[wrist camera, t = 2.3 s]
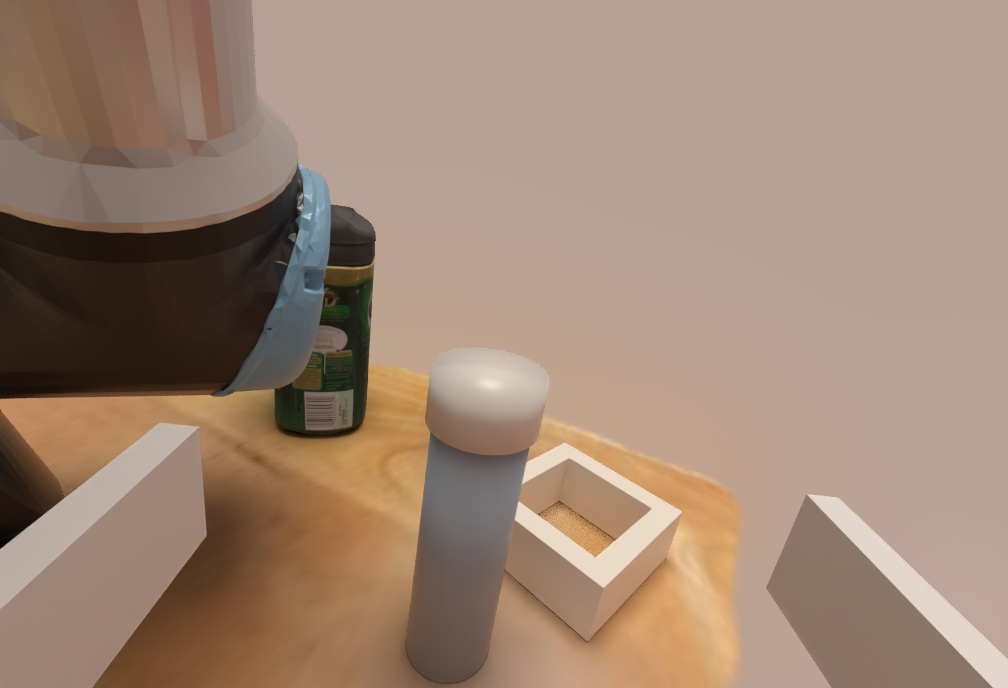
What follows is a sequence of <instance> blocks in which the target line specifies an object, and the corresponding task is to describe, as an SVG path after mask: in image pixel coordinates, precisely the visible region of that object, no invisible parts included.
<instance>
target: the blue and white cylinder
mask: <svg viewBox="0 0 1008 688" xmlns="http://www.w3.org/2000/svg"><path fill="white" fill-rule="evenodd" d="M549 384H550V378H549V375H548V374H547V373H546V371H545V370H544V369H543V368H542V367H541V366H539V365H538V364H537V363H535V362H533V361H531V360H529V359H527V358H525V357H522V356H520V355H517V354H514V353H510V352H507V351H502V350H498V349H491V348H482V347H464V348H456V349H451V350H447V351H444V352H442V353H440V354H438V355H437V356H436V357H435V358H434V359H433V360H432V363H431V371H430V380H429V389H428V398H427V407H426V416H425V421H426V425H427V427H428V429H429V430H430V432H431V433H430V442H429V450H428V459H427V468H426V476H425V485H424V493H423V502H422V510H421V519H420V527H419V536H418V544H417V553H416V561H415V570H414V578H413V587H412V595H411V604H410V613H409V621H408V630H407V638H406V650H407V655H408V658H409V660H410V662H411V664H412V665H413V667H414V668H415V669H416V670H417V671H418V672H419V673H420V674H421V675H423V676H424V677H426V678H428V679H430V680H432V681H435V682H439V683H457V682H460V681H463V680H466V679H468V678H470V677H471V676H473V675H474V674H475V673H477V671H478V670H479V669H480V668H481V667H482V666H483V664H484V662H485V660H486V658H487V655H488V650H489V645H490V640H491V635H492V630H493V625H494V620H495V615H496V610H497V605H498V600H499V595H500V590H501V585H502V580H503V575H504V571H505V566H506V561H507V556H508V551H509V546H510V541H511V536H512V531H513V526H514V521H515V516H516V511H517V506H518V501H519V496H520V491H521V486H522V481H523V476H524V471H525V466H526V461H527V456H528V451H529V447H531V446H532V445H533V444H534V443H535V442H536V441H537V439H538V437H539V432H540V427H541V422H542V418H543V413H544V408H545V403H546V398H547V394H548V389H549Z"/></svg>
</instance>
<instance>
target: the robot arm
mask: <svg viewBox="0 0 1008 688" xmlns="http://www.w3.org/2000/svg"><path fill="white" fill-rule="evenodd" d="M253 36H254V35H253V16H252V0H0V399H9V398H62V397H120V396H178V395H211V396H214V397H223V396H226V395H229V394H232V393H234V392H240V391H253V390H267V389H276V388H281V387H284V386H286V385H288V384H290V383H291V382H293V381H294V380H296V379H297V378H298V377H299V376H300V375H301V373H302V372H303V371H304V369H305V368H306V366H307V364H308V361H309V359H310V357H311V354H312V351H313V348H314V344H315V340H316V336H317V332H318V327H319V322H320V317H321V312H322V305H323V298H324V284H323V280H324V278H325V275H326V267H327V263H328V258H329V247H330V229H331V206H330V196H329V189H328V185H327V182H326V180H325V179H324V177H323V176H321V174H319V173H317V172H314V171H311V170H309V169H308V168H306V167H304V166H303V165H298V147H297V143H296V140H295V137H294V135H293V132H292V131H291V129H290V127H289V125H288V124H287V123H286V122H285V121H284V119H283V118H282V117H281V116H280V115H279V114H278V113H277V112H276V111H275V110H274V109H273V108H272V107H271V106H270V105H268V104H267V103H266V102H265V101H264V100H263V99H262V98H261V97H260V96H259V95H257V93H256V75H255V54H254V37H253ZM206 536H207V531H206V517H205V502H204V488H203V473H202V459H201V444H200V430H199V427H195V426H186V425H177V424H168V423H159V424H157V425H156V426H155V427H154V428H152V429H151V430H150V431H149V432H147V433H146V434H145V435H144V436H142V437H141V438H140V439H139V440H137V441H136V442H135V443H134V444H132V445H131V446H130V447H128V448H127V449H126V450H125V451H123V452H122V453H121V454H120V455H118V456H117V457H116V458H115V459H113V460H112V461H111V462H110V463H108V464H107V465H106V466H105V467H103V468H102V469H101V470H99V471H98V472H97V473H96V474H94V475H93V476H92V477H91V478H89V479H88V480H87V481H86V482H84V483H83V484H82V485H81V486H79V487H78V488H77V489H76V490H74V491H73V492H72V493H70V494H69V495H68V496H67V497H65V498H64V495H63V491H62V489H61V486H60V484H59V482H58V480H57V479H56V477H55V476H54V475H53V473H52V472H51V471H50V470H49V468H48V467H47V466H46V465H45V464H44V462H43V461H42V460H41V459H40V458H39V456H38V455H37V454H36V453H35V452H34V450H33V449H32V448H31V447H30V446H29V444H28V443H27V442H26V441H25V439H24V438H23V437H22V436H21V435H20V433H19V432H18V431H17V430H16V429H15V427H14V426H13V425H12V424H11V423H10V421H9V420H8V419H7V418H6V417H5V415H4V414H3V413H2V411H1V409H0V688H92V687H93V686H94V685H95V683H96V682H97V681H98V679H99V678H100V677H101V675H102V674H103V673H104V671H105V670H106V669H107V667H108V666H109V665H110V663H111V662H112V661H113V659H114V658H115V657H116V655H117V654H118V653H119V651H120V650H121V649H122V647H123V646H124V645H125V643H126V642H127V641H128V639H129V638H130V637H131V635H132V634H133V633H134V631H135V630H136V629H137V627H138V626H139V625H140V623H141V622H142V621H143V619H144V618H145V617H146V615H147V614H148V613H149V612H150V610H151V609H152V608H153V606H154V605H155V604H156V602H157V601H158V600H159V598H160V597H161V596H162V594H163V593H164V592H165V590H166V589H167V588H168V586H169V585H170V584H171V582H172V581H173V580H174V578H175V577H176V576H177V574H178V573H179V572H180V570H181V569H182V568H183V566H184V565H185V564H186V562H187V561H188V560H189V558H190V557H191V556H192V554H193V553H194V552H195V550H196V549H197V548H198V546H199V545H200V544H201V542H202V541H203V540H204V538H205V537H206ZM766 588H767V590H768V591H769V593H770V594H771V596H772V597H773V599H774V600H775V602H776V603H777V605H778V606H779V608H780V610H781V611H782V613H783V614H784V616H785V617H786V619H787V620H788V622H789V623H790V625H791V626H792V628H793V629H794V630H795V632H796V634H797V635H798V637H799V638H800V640H801V641H802V643H803V645H804V646H805V648H806V649H807V651H808V652H809V654H810V655H811V657H812V658H813V660H814V661H815V663H816V664H817V666H818V667H819V669H820V670H821V672H822V674H823V675H824V676H825V678H826V680H827V681H828V683H829V684H830V686H831V687H832V688H1008V659H1007V658H1006V657H1005V656H1004V655H1003V654H1002V653H1001V652H1000V651H999V650H997V648H995V647H994V646H993V645H992V644H991V643H990V642H989V641H988V640H987V639H986V638H985V637H984V636H983V635H982V634H981V633H980V632H979V631H978V630H977V629H975V628H974V627H973V626H972V625H971V624H970V623H969V622H968V621H967V620H966V619H965V618H964V617H963V616H962V615H961V614H960V613H959V612H958V611H957V610H955V608H953V607H952V606H951V605H950V604H949V603H948V602H947V601H946V600H945V599H944V598H943V597H942V596H941V595H940V594H939V593H938V592H937V591H936V590H935V589H934V588H932V586H930V585H929V584H928V583H927V582H926V581H925V580H924V579H923V578H922V577H921V576H920V575H919V574H918V573H917V572H915V570H914V569H913V568H912V567H910V565H908V564H907V563H906V562H905V561H904V560H903V559H902V558H901V557H900V556H899V555H898V554H897V553H896V552H895V551H893V549H892V548H891V547H890V546H888V544H886V543H885V542H884V541H883V540H882V539H881V538H880V537H879V536H878V535H877V534H876V533H875V532H874V531H873V530H872V529H871V528H870V527H869V526H867V525H866V524H865V523H864V522H863V521H862V520H861V519H860V518H859V517H858V516H857V515H856V514H855V513H854V512H853V511H852V510H851V509H850V508H849V507H848V506H847V505H846V504H845V503H843V502H842V501H841V500H840V499H839V498H837V497H826V496H819V495H809V494H807V495H806V497H805V499H804V501H803V504H802V506H801V508H800V511H799V513H798V515H797V518H796V520H795V522H794V525H793V527H792V529H791V532H790V534H789V536H788V539H787V541H786V543H785V546H784V548H783V551H782V553H781V555H780V557H779V560H778V562H777V564H776V567H775V569H774V571H773V574H772V576H771V578H770V581H769V583H768V585H767V587H766Z"/></svg>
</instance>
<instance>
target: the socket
mask: <svg viewBox="0 0 1008 688" xmlns="http://www.w3.org/2000/svg"><path fill="white" fill-rule="evenodd" d="M558 501H560V502H562V503H563V504H564V505H566V506H567V507H569V508H570V509H572V510H573V511H575V512H576V513H578V514H579V515H580V516H582V517H583V518H585V519H586V520H588V521H589V522H591V523H592V524H594V525H595V526H596V527H598V528H599V529H601V530H602V531H604V532H605V533H607V534H608V535H610V536H611V537H612V538H614V539H615V541H614V542H613V543H612V544H611V545H610V546H608V547H607V548H606V549H605V550H604V551H603V552H601V553H600V554H599V555H598V556H597V557H596V558H595V557H594V556H593V555H591V554H590V553H589V552H587V551H586V550H585V549H583V548H582V547H580V546H579V545H578V544H576V543H575V542H574V541H572V540H571V539H570V538H568V537H567V536H565V535H564V534H563V533H561V532H560V531H559V530H557V529H556V528H555V527H553V526H552V525H550V524H549V523H548V522H546V521H545V520H544V519H542V518H541V517H540V516H538V514H539V513H541V512H542V511H544V510H545V509H547V508H548V507H550V506H552V505H553V504H555V503H556V502H558ZM681 514H682V511H680V510H678V509H677V508H675V507H673V506H671V505H670V504H668V503H666V502H665V501H663V500H661V499H660V498H658V497H656V496H655V495H653V494H651V493H649V492H648V491H646V490H644V489H643V488H641V487H639V486H638V485H636V484H634V483H633V482H631V481H629V480H627V479H626V478H624V477H622V476H621V475H619V474H617V473H616V472H614V471H612V470H611V469H609V468H607V467H606V466H604V465H602V464H600V463H599V462H597V461H595V460H594V459H592V458H590V457H589V456H587V455H585V454H584V453H582V452H580V451H578V450H577V449H575V448H573V447H572V446H570V445H568V444H567V443H563V444H561V445H559V446H558V447H556V448H554V449H552V450H550V451H548V452H546V453H544V454H542V455H540V456H538V457H536V458H534V459H532V460H530V461H528V462H526V466H525V471H524V476H523V481H522V486H521V491H520V496H519V501H518V506H517V511H516V516H515V521H514V526H513V531H512V536H511V541H510V546H509V551H508V556H507V561H506V566H505V571H507V572H508V573H509V574H510V575H511V576H512V577H514V578H515V579H516V580H517V581H518V582H519V583H520V584H522V585H523V586H524V587H525V588H526V589H527V590H528V591H530V592H531V593H532V594H533V595H534V596H535V597H537V598H538V599H539V600H540V601H541V602H542V603H543V604H545V605H546V606H547V607H548V608H549V609H550V610H552V611H553V612H554V613H555V614H556V615H557V616H558V617H560V618H561V619H562V620H563V621H564V622H565V623H567V624H568V625H569V626H570V627H571V628H572V629H573V630H575V631H576V632H577V633H578V634H579V635H580V636H581V637H583V638H584V639H585V640H586V641H587V642H588V641H589V640H590V639H591V638H592V636H593V635H594V634H595V633H596V632H597V631H598V630H599V629H600V628H601V627H602V626H603V625H604V624H605V623H606V621H607V620H608V619H609V618H610V617H611V616H612V615H613V614H614V613H615V612H616V611H617V610H618V609H619V608H620V607H621V605H622V604H623V603H624V602H625V601H626V600H627V599H628V598H629V597H630V596H631V595H632V594H633V593H634V592H635V591H636V589H637V588H638V587H639V586H640V585H641V584H642V583H643V582H644V581H645V580H646V579H647V578H648V577H649V576H650V575H651V573H652V572H653V571H654V570H655V569H656V568H657V567H658V566H659V565H660V564H661V563H662V562H663V561H664V560H665V559H666V557H667V554H668V552H669V549H670V546H671V543H672V540H673V537H674V534H675V532H676V529H677V526H678V523H679V520H680V517H681Z"/></svg>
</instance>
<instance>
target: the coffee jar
mask: <svg viewBox="0 0 1008 688" xmlns="http://www.w3.org/2000/svg"><path fill="white" fill-rule="evenodd" d="M330 206H331V229H330V247H329V258H328V263H327V267H326V275H325V278H324V280H323V284H324V298H323V305H322V312H321V317H320V322H319V327H318V332H317V336H316V340H315V344H314V348H313V351H312V354H311V357H310V359H309V361H308V364H307V366H306V368H305V369H304V371H303V372H302V373H301V375H300V376H299V377H298V378H297V379H296V380H294V381H293V382H291V383H290V384H288V385H286V386H284V387H281V388H276V389H275V418H276V421H277V422H278V424H279V425H280V426H281V427H283V428H286V429H288V430H292V431H297V432H300V433H303V434H314V435H324V434H333V433H337V432H341V431H345V430H348V429H351V428H355V427H356V426H358V425H359V424H360V422H361V421H362V420H363V417H364V415H365V410H366V400H367V385H368V362H369V343H370V327H371V310H372V291H373V273H374V256H375V241H376V236H375V231H374V228H373V226H372V224H371V223H370V222H369V221H368V220H366V219H365V218H364V217H362V216H361V215H359V214H358V213H356V212H355V210H353V208H350V207H345V206H338V205H330Z"/></svg>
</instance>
